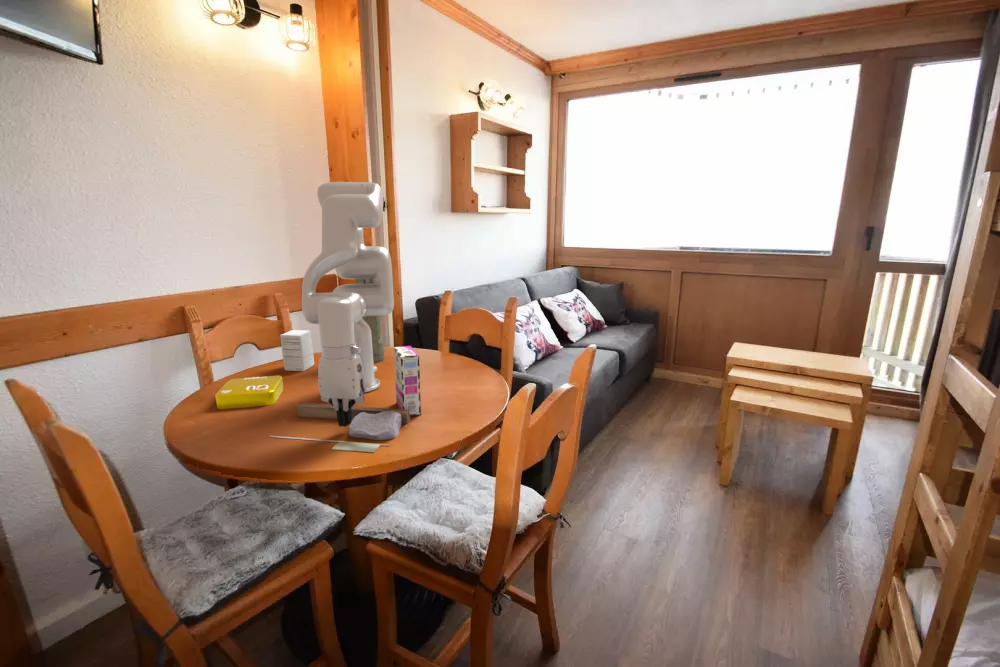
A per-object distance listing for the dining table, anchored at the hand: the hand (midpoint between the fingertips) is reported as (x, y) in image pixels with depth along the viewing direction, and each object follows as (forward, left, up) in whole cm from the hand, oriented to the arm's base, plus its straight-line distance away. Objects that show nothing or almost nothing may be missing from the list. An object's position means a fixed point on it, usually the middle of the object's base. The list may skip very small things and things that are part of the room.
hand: (345, 424), depth 115 cm
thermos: (-59, -19, -2) cm, 62 cm away
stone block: (-2, +7, -3) cm, 8 cm away
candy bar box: (-17, +10, -2) cm, 20 cm away
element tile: (-18, -38, -3) cm, 42 cm away
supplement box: (-46, -40, -2) cm, 61 cm away
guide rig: (-1, -2, -2) cm, 3 cm away
